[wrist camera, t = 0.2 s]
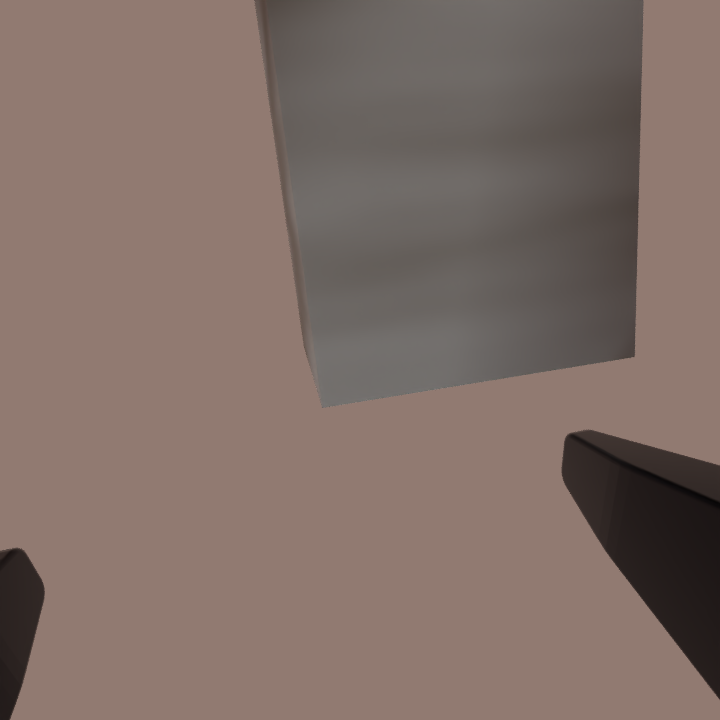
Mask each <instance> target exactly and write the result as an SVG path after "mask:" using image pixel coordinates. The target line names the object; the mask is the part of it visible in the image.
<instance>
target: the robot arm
mask: <svg viewBox="0 0 720 720" xmlns="http://www.w3.org/2000/svg"><path fill="white" fill-rule="evenodd" d="M562 477H563V481H564V483H565V485H566V487H567V489H568V490H569V492H570V494H571V495H572V497H573V499H574V500H575V502H576V504H577V505H578V507H579V509H580V510H581V512H582V514H583V515H584V517H585V519H586V520H587V522H588V524H589V525H590V527H591V529H592V530H593V532H594V534H595V535H596V537H597V538H598V540H599V541H600V543H601V545H602V546H603V548H604V549H605V551H606V552H607V554H608V555H609V556H610V558H611V559H612V560H613V562H614V563H615V564H616V566H617V567H618V568H619V570H620V571H621V572H622V574H623V575H624V576H625V577H626V579H627V580H628V581H629V582H630V584H631V585H632V587H633V588H634V589H635V590H636V592H637V593H638V594H639V595H640V597H641V598H642V599H643V601H644V602H645V603H646V605H647V606H648V607H649V609H650V610H651V611H652V613H653V614H654V615H655V616H656V618H657V619H658V620H659V622H660V623H661V624H662V625H663V627H664V628H665V629H666V631H667V632H668V633H669V634H670V636H671V637H672V638H673V639H674V641H675V642H676V643H677V645H678V646H679V648H680V649H681V650H682V651H683V653H684V654H685V655H686V657H687V658H688V659H689V660H690V662H691V663H692V664H693V666H694V667H695V668H696V670H697V671H698V672H699V673H700V675H701V676H702V677H703V679H704V680H705V681H706V682H707V684H708V685H709V686H710V688H711V689H712V690H713V691H714V693H715V694H716V696H717V697H718V698H719V699H720V465H716V464H713V463H709V462H705V461H702V460H698V459H695V458H691V457H687V456H684V455H680V454H676V453H673V452H669V451H666V450H662V449H658V448H655V447H651V446H647V445H643V444H640V443H637V442H633V441H629V440H626V439H622V438H618V437H615V436H611V435H608V434H604V433H600V432H597V431H593V430H583V431H578V432H573V433H569V434H568V435H567V436H566V438H565V441H564V451H563V461H562ZM44 594H45V591H44V585H43V582H42V579H41V578H40V576H39V574H38V573H37V571H36V569H35V568H34V566H33V564H32V562H31V561H30V559H29V557H28V556H27V554H26V553H25V551H24V550H22V549H20V548H12V549H7V550H2V551H0V720H10V718H11V715H12V713H13V710H14V707H15V704H16V702H17V699H18V696H19V693H20V690H21V687H22V684H23V680H24V676H25V673H26V669H27V665H28V661H29V657H30V653H31V649H32V646H33V642H34V638H35V634H36V630H37V625H38V622H39V618H40V614H41V610H42V606H43V602H44Z"/></svg>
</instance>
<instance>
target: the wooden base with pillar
mask: <svg viewBox="0 0 720 720" xmlns="http://www.w3.org/2000/svg"><path fill="white" fill-rule="evenodd" d="M255 7H256V14H257V21H258V28H259V35H260V42H261V49H262V56H263V63H264V70H265V77H266V84H267V91H268V97H269V105H270V112H271V119H272V126H273V133H274V140H275V147H276V154H277V161H278V168H279V175H280V182H281V189H282V196H283V203H284V210H285V217H286V224H287V231H288V238H289V245H290V252H291V259H292V266H293V272H294V280H295V287H296V294H297V301H298V308H299V315H300V322H301V329H302V335H303V343H304V348H305V352H306V355H307V358H308V361H309V365H310V368H311V372H312V375H313V378H314V382H315V385H316V388H317V392H318V395H319V398H320V402H321V405H322V408H323V407H330V406H336V405H342V404H348V403H355V402H361V401H367V400H373V399H379V398H385V397H391V396H398V395H403V394H409V393H416V392H422V391H428V390H434V389H440V388H447V387H453V386H459V385H465V384H471V383H477V382H484V381H489V380H496V379H502V378H508V377H514V376H520V375H526V374H533V373H539V372H545V371H551V370H557V369H563V368H570V367H575V366H582V365H587V364H594V363H600V362H606V361H613V360H619V359H624V358H631V357H634V356H635V318H636V279H637V278H636V277H637V239H638V199H639V158H640V118H641V114H640V113H641V76H642V36H643V35H642V34H643V0H255Z"/></svg>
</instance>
